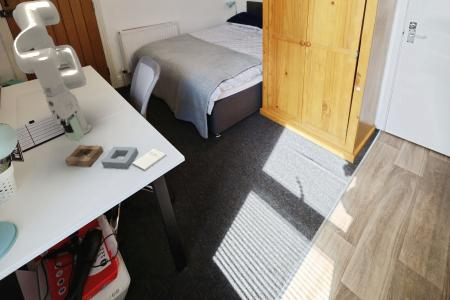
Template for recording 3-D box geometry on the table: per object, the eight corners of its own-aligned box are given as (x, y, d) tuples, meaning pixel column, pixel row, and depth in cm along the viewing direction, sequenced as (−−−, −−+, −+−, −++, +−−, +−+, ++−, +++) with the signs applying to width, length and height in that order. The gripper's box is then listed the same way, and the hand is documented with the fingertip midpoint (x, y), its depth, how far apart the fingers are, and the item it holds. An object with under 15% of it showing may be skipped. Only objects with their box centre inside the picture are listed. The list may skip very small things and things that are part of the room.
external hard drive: (132, 165, 119) (154, 150, 127) (145, 172, 115) (166, 156, 123) (131, 162, 118) (153, 147, 126) (144, 169, 114) (166, 153, 122)
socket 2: (103, 167, 119) (101, 161, 117) (115, 151, 127) (113, 146, 126) (127, 168, 117) (125, 163, 115) (138, 152, 126) (136, 147, 124)
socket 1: (67, 165, 121) (64, 160, 120) (81, 150, 130) (79, 145, 128) (90, 166, 120) (88, 161, 118) (103, 151, 128) (101, 146, 127)
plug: (70, 141, 118) (60, 120, 112) (75, 135, 121) (66, 115, 115) (79, 141, 117) (69, 120, 111) (84, 136, 120) (75, 115, 114)
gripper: (49, 98, 98) (69, 141, 109) (76, 79, 111) (92, 119, 122) (30, 98, 99) (52, 140, 110) (59, 79, 112) (76, 118, 123)
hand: (73, 129), depth 116 cm, fingers closed on plug, 4 cm apart
